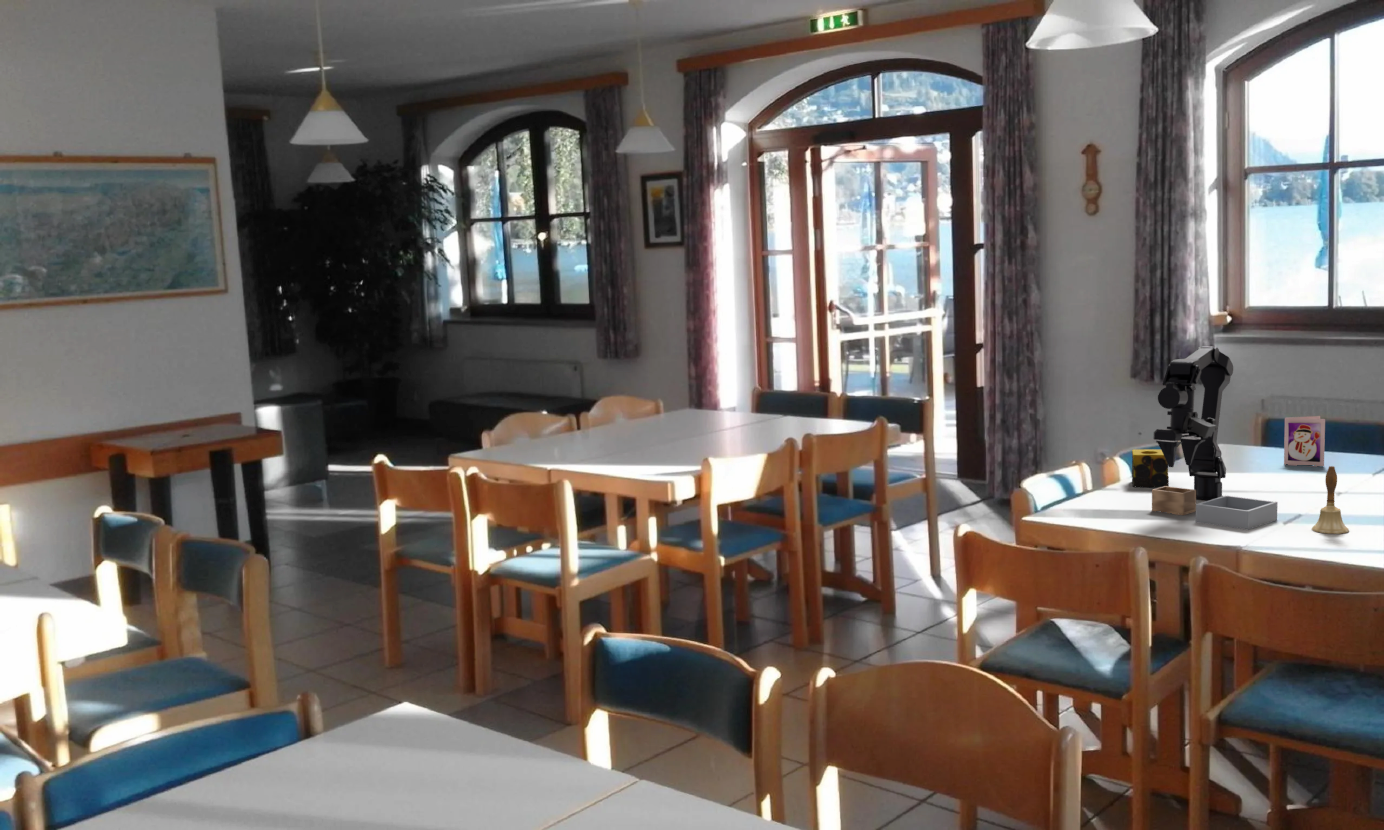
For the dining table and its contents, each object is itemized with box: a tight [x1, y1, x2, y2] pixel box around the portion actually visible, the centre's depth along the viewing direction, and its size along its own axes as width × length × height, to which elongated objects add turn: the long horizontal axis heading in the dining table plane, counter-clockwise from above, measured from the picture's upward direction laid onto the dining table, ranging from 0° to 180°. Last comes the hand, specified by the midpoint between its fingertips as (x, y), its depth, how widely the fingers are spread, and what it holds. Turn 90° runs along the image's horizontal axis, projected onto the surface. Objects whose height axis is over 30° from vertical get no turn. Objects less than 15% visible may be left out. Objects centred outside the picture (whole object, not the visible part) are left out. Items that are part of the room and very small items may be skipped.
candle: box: [1131, 448, 1170, 489], centre depth 386 cm, size 10×10×10 cm
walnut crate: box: [1151, 486, 1197, 516], centre depth 349 cm, size 9×6×6 cm
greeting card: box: [1283, 415, 1326, 467], centre depth 408 cm, size 11×7×15 cm, turn 58°
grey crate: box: [1195, 494, 1278, 531], centre depth 334 cm, size 14×15×5 cm
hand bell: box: [1311, 465, 1350, 535], centre depth 319 cm, size 8×8×16 cm
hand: (1179, 466), depth 346 cm, fingers open, 9 cm apart
